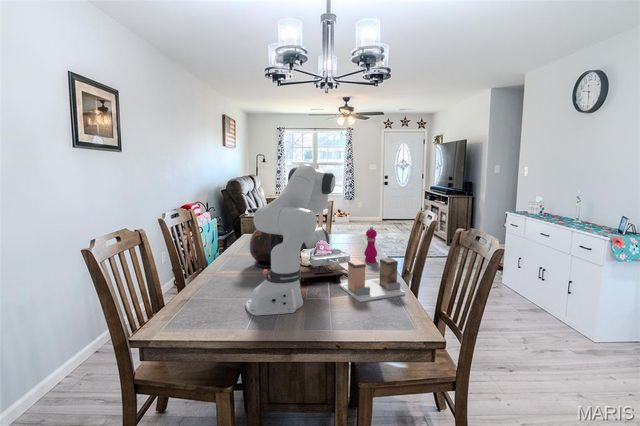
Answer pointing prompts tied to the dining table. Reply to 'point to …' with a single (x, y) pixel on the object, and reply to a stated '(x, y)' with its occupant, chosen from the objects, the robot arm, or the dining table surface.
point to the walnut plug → (388, 271)
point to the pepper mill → (371, 246)
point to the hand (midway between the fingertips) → (336, 263)
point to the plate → (374, 290)
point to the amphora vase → (263, 247)
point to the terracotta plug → (356, 274)
